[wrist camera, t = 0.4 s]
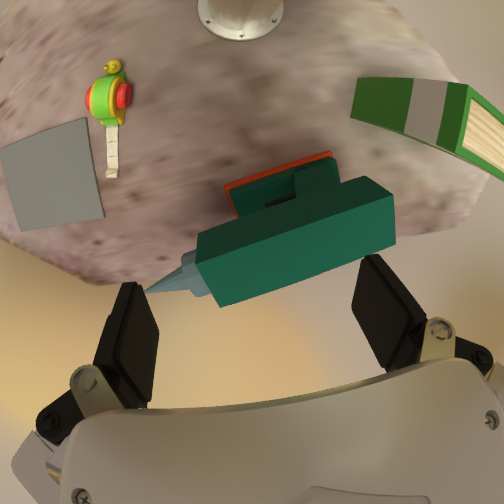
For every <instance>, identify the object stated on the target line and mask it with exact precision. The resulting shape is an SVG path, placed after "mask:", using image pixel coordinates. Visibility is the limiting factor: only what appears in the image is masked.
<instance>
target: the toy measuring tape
mask: <svg viewBox="0 0 504 504" xmlns="http://www.w3.org/2000/svg"><path fill="white" fill-rule="evenodd" d="M103 69H104V70H106V72H107V73H108V75H107V76H105V77H101V78H99V79H97V80H96V81H95V82H94V84H93V86H91V87H90V88H89V89H88V91H87V94H86V99H85V103H86V107H87V109H88V110H89V111H91V114H92V115H93V116H94V117H95V118H97V119H99V120H100V122H101V124H102V125H104V126H106V138H107V163H108V170H107V171H106V178H118V176H119V171H118V169H119V167H118V125H123V124H124V117H125V109H126V108H127V107H128V106H129V104H130V102H131V97H132V89H131V86H130V84H128V83H125V80H124V78H125V71H120V69H121V63H120V61H119V60H116V59H113V60H110V61H109V62H108V63H107V64H106V65H105V66H104V67H103ZM119 71H120V72H119Z"/></svg>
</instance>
